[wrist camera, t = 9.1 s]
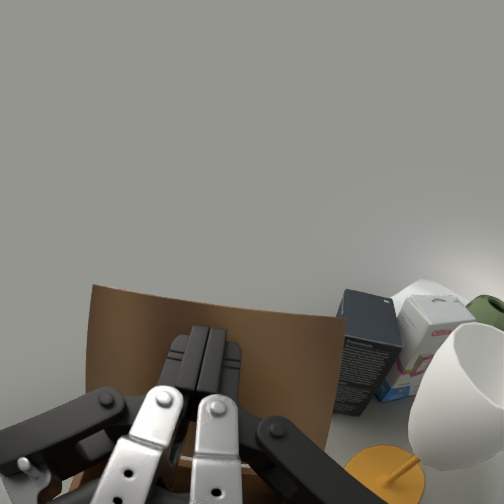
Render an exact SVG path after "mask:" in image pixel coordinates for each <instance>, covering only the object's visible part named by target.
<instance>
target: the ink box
mask: <svg viewBox="0 0 504 504" xmlns="http://www.w3.org/2000/svg"><path fill="white" fill-rule="evenodd" d="M475 321H476V318H475V317H474V316H473V315H472V314H471V313H470V312H469V311H468V310H467V308H466V307H465V306H464V305H463V304H462V303H461V302H460V301H459V300H458V299H457V298H456V297H454V296H452V295H411V297H410V298H406V299H405V301H404V304H403V306H402V308H401V310H400V312H399V315H398V317H397V322H398V326H399V330H400V335H401V338H402V342H403V345H404V347H403V349H402V351H401V353H400V354H399V356H398V358H397V360H396V361H395V363H394V365H393V366H392V368H391V370H390V371H389V373H388V375H387V376H386V378H385V379H384V381H383V383H382V384H381V386H380V387H379V389H378V390H377V392H376V394H377V396H378V398H379V400H380V401H381V402H382V403H383V402H387V401H391V400H396V399H399V398H403V397H407V396H411V395H415V394H417V392H418V389H419V387H420V384H421V381H422V378H423V376H424V374H425V372H426V370H427V368H428V366H429V365H430V363H431V361H432V359H433V357H434V355H435V353H436V352H437V350H438V349H439V348H440V347H441V346H442V344H443V343H444V342H445V341H446V339H447V338H448V337H449V335H450V334H451V333H452V332H453V331H454V330H455V329H456V328H457V327H458V326H459V325H461V324H464V323H472V322H475Z"/></svg>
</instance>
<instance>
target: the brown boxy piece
mask: <svg viewBox="0 0 504 504" xmlns="http://www.w3.org/2000/svg"><path fill="white" fill-rule="evenodd" d="M109 459H110V458H109ZM109 459H107V460H105V461H103V462H101V463H99V464H97V465H95V466H93V467H91V468H89V469H87V470H85V471H83V472H81V473H79V474H77V475H75V476H74V478H73V480H72V483H71V486H70V489H69V492H70V491H72V490H74V489H76V488H78V487H80V486H81V485H83V484H85V483H87V482H89V481H91V480H94V479H97V478H101V476H102V474H103V472H104V470H105V467H106V465H107V463H108V461H109ZM191 472H192V461H189V460H184V459H180V461H179V464H178V467H177V471H176V477H175V485H174V489H173V493H190V487H191ZM241 477H242V503H244V504H285V503H284V502H283V501H282V500H281V499H280V498H279V497H278V496H277V495H276V494H275V493H274V492H273V491H272V490H271V489H270V488H269V487H268V486H267V485H266V484H265V483H264V481H263V480H262V479H261V478H260V477H259V476H258V475H257V474H256V473H255V472H254V471H253V469H252V468H246V467H241Z"/></svg>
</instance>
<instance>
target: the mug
mask: <svg viewBox="0 0 504 504" xmlns="http://www.w3.org/2000/svg"><path fill="white" fill-rule="evenodd" d="M466 308H467V310H468V311H469V312H470V313H471V314H472V315H473V316H474V317H475V318H476V321H475V322H478V323H482V324H486V325H491V326H493V327H495V328H497V329H499V330H501V331H503V332H504V302H503V301H501V300H499V299H498V298H495V297H493V296H489V295H480V296H478V297H476V298H475V299H474V300H472V301H471V302H470V303H469V304H468V305H467V306H466Z"/></svg>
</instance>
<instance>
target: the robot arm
mask: <svg viewBox="0 0 504 504" xmlns="http://www.w3.org/2000/svg"><path fill="white" fill-rule="evenodd" d="M226 338H227V329H219V328H212V327H211V329H210V327H205V326H198V325H193V327H192V330H191V333H190V336H188V335H182V334H180V335H179V336H178V337H177V338H176V339H175V340H173V342H172V345H171V347H170V351H169V353H168V355H167V359H166V361H165V364H164V366H163V369H162V372H161V375H160V377H159V380H158V383H157V385H156V387H154V388H152V389H151V390H150V391H149V392H148V393H147V394H145V395H140V396H123V394H122V393H121V391H119V390H118V389H116V388H114V387H110V386H104V387H100V388H98V389H96V390H93V391H91V392H89V393H87V394H85V395H83V396H81V397H79V398H76V399H74V400H72V401H70V402H68V403H65V404H63V405H61V406H58V407H56V408H54V409H52V410H49V411H47V412H45V413H42V414H40V415H38V416H35V417H33V418H30V419H28V420H25V421H23V422H21V423H18V424H16V425H13V426H11V427H8V428H5V429H3V430H0V476H1V479H2V481H3V483H4V486H5V488H6V490H7V492H8V495H9V497H10V499H11V501H12V503H13V504H244V503H242V477H241V461H242V462H245V463H248V464H249V466H250V467H251V468H252V469H253V471H254V472H255V473H256V474H257V475H258V476H259V477H260V478H261V479H262V480H263V481H264V483H265V484H266V485H267V486H268V487H269V488H270V489H271V490H272V491H273V492H274V493H275V494H276V495H277V496H278V497H279V498H280V499H281V500H282V501H283V502H284V503H285V504H388V503H387V502H386V501H384V500H383V499H382V498H380V497H379V496H378V495H376V494H375V493H374V492H372V491H371V490H370V489H368V488H367V487H366V486H364V485H363V484H362V483H361V482H359V481H358V480H357V479H356V478H354V477H353V476H352V475H351V474H349V473H348V472H347V471H346V470H345V469H343V468H342V467H341V466H340V465H339V464H337V463H336V462H335V461H334V460H333V459H332V458H331V457H329V456H328V455H327V454H326V453H325V452H324V451H323V450H321V449H320V448H319V447H318V446H317V445H316V444H315V443H314V442H313V441H311V440H310V439H309V438H308V437H307V436H306V435H305V434H304V433H303V432H302V431H301V430H300V429H299V428H298V427H297V426H296V425H294V424H293V423H292V422H291V421H290V420H289V419H287V418H285V417H282V416H269V417H266V418H264V419H262V418H259V417H257V416H254V415H251V414H249V413H248V412H246V411H245V410H244V409H243V408H242V407H241V405H240V403H239V400H238V393H239V380H240V368H241V356H242V351H241V348H240V346H239V344H238V342H230V341H226ZM196 419H197V427H196V438H195V450H194V454H193V460H192V472H191V487H190V493H173V489H174V485H175V477H176V471H177V467H178V464H179V461H180V457H181V454H182V451H183V448H184V444H185V441H186V438H187V432H188V427H189V423H190V421H192V422H196ZM109 458H110V459H109ZM107 459H109V461H108V463H107V465H106V467H105V470H104V472H103V474H102V476H101V478H97V479H94V480H91V481H89V482H87V483H85V484H83V485H81V486H80V487H78V488H76V489H74V490H72V491H70V492H68V493H66V494H64V495H61V496H59V497H57V498H55V499H53V498H54V497H56V496H57V495H59V494H60V493H61V491H62V482H61V481H63V480H66V479H68V478H70V477H72V476H75V475H77V474H79V473H81V472H83V471H85V470H87V469H89V468H91V467H93V466H95V465H97V464H99V463H101V462H103V461H105V460H107ZM52 499H53V500H52Z"/></svg>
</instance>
